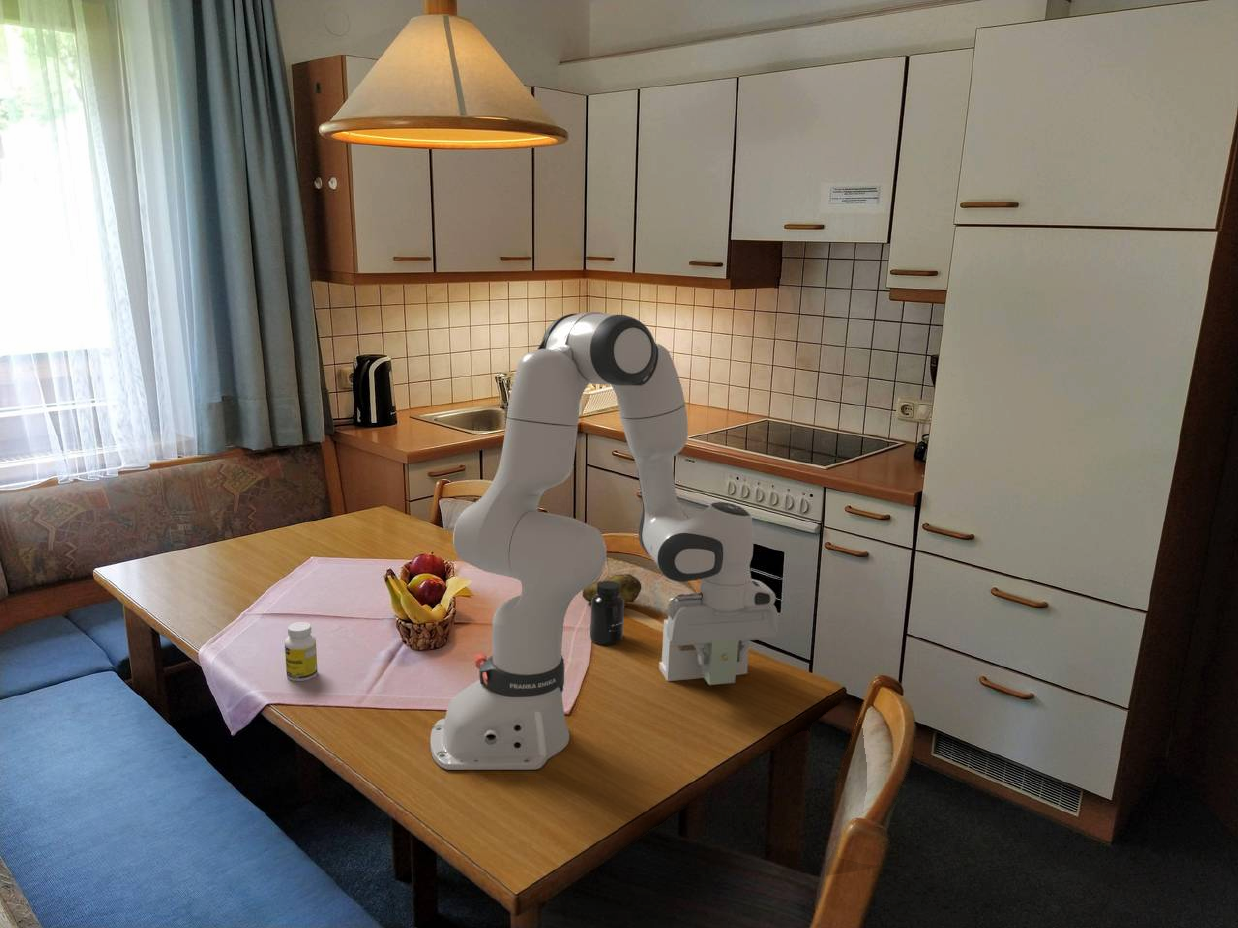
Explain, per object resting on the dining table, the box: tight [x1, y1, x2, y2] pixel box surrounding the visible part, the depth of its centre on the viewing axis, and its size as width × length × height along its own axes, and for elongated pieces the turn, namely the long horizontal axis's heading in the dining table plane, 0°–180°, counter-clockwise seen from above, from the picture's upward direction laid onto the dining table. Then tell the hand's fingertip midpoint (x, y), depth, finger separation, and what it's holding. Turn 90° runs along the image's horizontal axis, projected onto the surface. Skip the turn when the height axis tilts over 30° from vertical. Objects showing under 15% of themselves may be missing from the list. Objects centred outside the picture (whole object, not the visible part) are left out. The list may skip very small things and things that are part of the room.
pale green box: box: [701, 637, 739, 686], centre depth 164 cm, size 5×7×9 cm
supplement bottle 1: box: [284, 621, 318, 682], centre depth 164 cm, size 5×5×10 cm
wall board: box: [658, 598, 751, 682], centre depth 170 cm, size 16×8×16 cm, turn 105°
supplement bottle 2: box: [589, 580, 625, 646], centre depth 183 cm, size 7×7×12 cm
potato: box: [582, 573, 642, 604], centre depth 200 cm, size 8×13×8 cm, turn 54°
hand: (719, 662), depth 164 cm, fingers closed on pale green box, 5 cm apart
